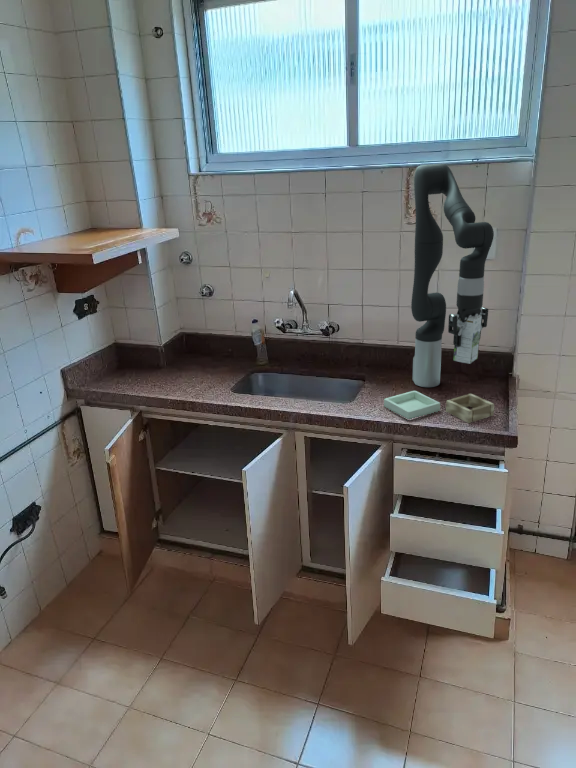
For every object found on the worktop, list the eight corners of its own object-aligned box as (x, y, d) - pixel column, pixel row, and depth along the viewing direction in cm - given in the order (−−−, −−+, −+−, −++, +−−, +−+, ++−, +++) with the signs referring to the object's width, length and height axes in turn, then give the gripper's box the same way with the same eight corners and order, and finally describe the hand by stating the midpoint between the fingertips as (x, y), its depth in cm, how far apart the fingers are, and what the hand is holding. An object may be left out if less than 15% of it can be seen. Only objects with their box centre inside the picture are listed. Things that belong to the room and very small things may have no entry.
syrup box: (460, 355, 186) (463, 311, 180) (478, 359, 183) (482, 314, 177) (452, 361, 182) (455, 316, 176) (471, 364, 179) (474, 318, 173)
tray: (383, 407, 196) (384, 398, 195) (414, 398, 202) (414, 390, 201) (408, 420, 186) (408, 412, 184) (440, 411, 191) (440, 402, 190)
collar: (445, 411, 190) (446, 400, 189) (469, 404, 195) (470, 393, 193) (468, 423, 182) (469, 411, 180) (493, 415, 186) (494, 403, 184)
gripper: (478, 285, 180) (475, 336, 186) (443, 292, 174) (440, 345, 180) (497, 290, 174) (492, 342, 180) (461, 297, 168) (457, 351, 174)
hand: (466, 343), depth 180 cm, fingers closed on syrup box, 7 cm apart
